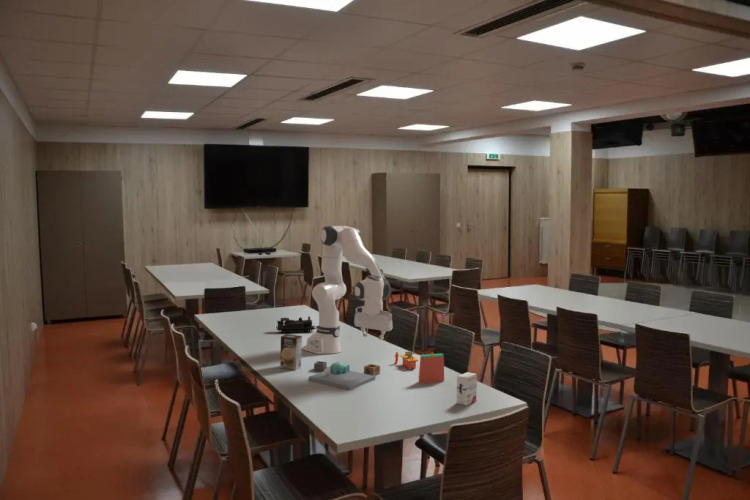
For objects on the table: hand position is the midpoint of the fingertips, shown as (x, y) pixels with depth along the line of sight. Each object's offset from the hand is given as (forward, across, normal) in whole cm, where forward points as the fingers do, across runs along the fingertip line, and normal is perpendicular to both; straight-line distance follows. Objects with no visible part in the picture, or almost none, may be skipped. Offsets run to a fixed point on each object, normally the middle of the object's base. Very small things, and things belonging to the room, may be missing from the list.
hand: (373, 337), depth 283 cm
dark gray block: (+18, +24, +10) cm, 32 cm away
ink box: (+18, -54, +9) cm, 58 cm away
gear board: (+18, +6, +16) cm, 25 cm away
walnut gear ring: (+18, 0, 0) cm, 18 cm away
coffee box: (+18, +38, +16) cm, 45 cm away
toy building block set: (+18, -15, -17) cm, 29 cm away
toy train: (+18, +89, -46) cm, 102 cm away
